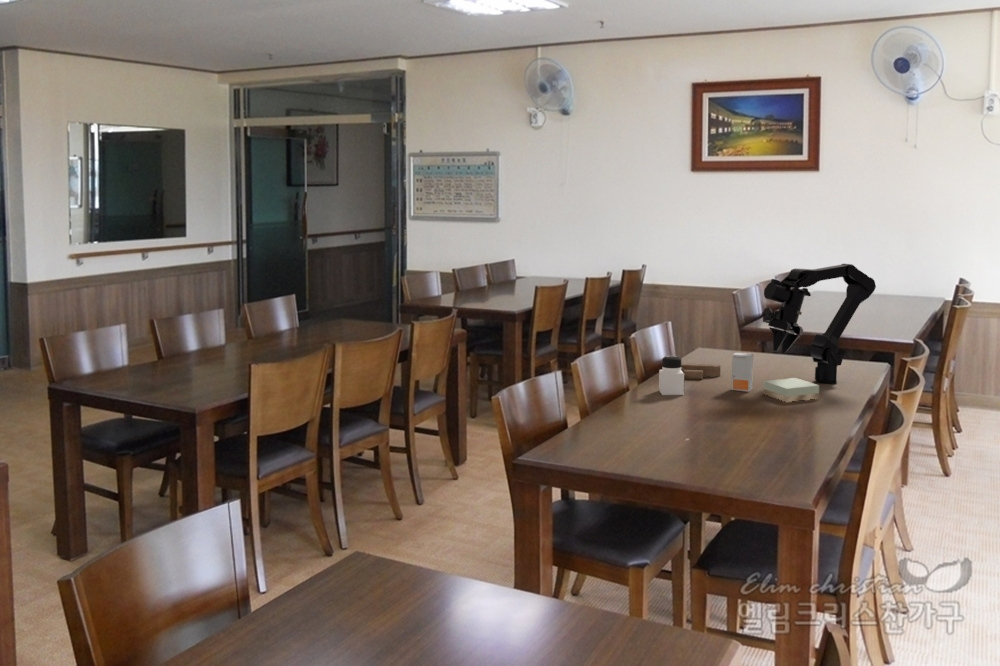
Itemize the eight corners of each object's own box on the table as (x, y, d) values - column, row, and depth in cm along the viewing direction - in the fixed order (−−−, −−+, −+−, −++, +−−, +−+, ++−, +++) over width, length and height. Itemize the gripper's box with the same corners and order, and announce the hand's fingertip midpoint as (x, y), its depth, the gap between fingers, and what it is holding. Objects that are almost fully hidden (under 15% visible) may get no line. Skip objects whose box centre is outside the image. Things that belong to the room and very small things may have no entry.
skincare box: (730, 390, 308) (731, 354, 306) (734, 387, 311) (735, 352, 309) (749, 392, 305) (750, 355, 303) (752, 389, 309) (753, 353, 307)
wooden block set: (668, 359, 336) (720, 360, 332) (668, 375, 336) (720, 376, 332) (666, 368, 319) (720, 369, 315) (666, 384, 320) (720, 386, 316)
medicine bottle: (684, 395, 302) (684, 358, 300) (662, 395, 302) (662, 358, 300) (680, 390, 309) (681, 354, 307) (658, 390, 309) (659, 354, 307)
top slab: (794, 385, 305) (794, 377, 304) (818, 393, 294) (819, 385, 293) (763, 388, 301) (763, 381, 300) (786, 396, 290) (787, 388, 289)
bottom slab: (795, 393, 305) (795, 385, 305) (818, 401, 294) (819, 393, 294) (763, 396, 301) (763, 388, 301) (786, 404, 290) (786, 396, 290)
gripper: (777, 304, 322) (764, 348, 323) (759, 297, 307) (746, 343, 307) (809, 311, 316) (796, 356, 317) (792, 305, 300) (779, 352, 301)
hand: (779, 351), depth 311 cm, fingers open, 9 cm apart
